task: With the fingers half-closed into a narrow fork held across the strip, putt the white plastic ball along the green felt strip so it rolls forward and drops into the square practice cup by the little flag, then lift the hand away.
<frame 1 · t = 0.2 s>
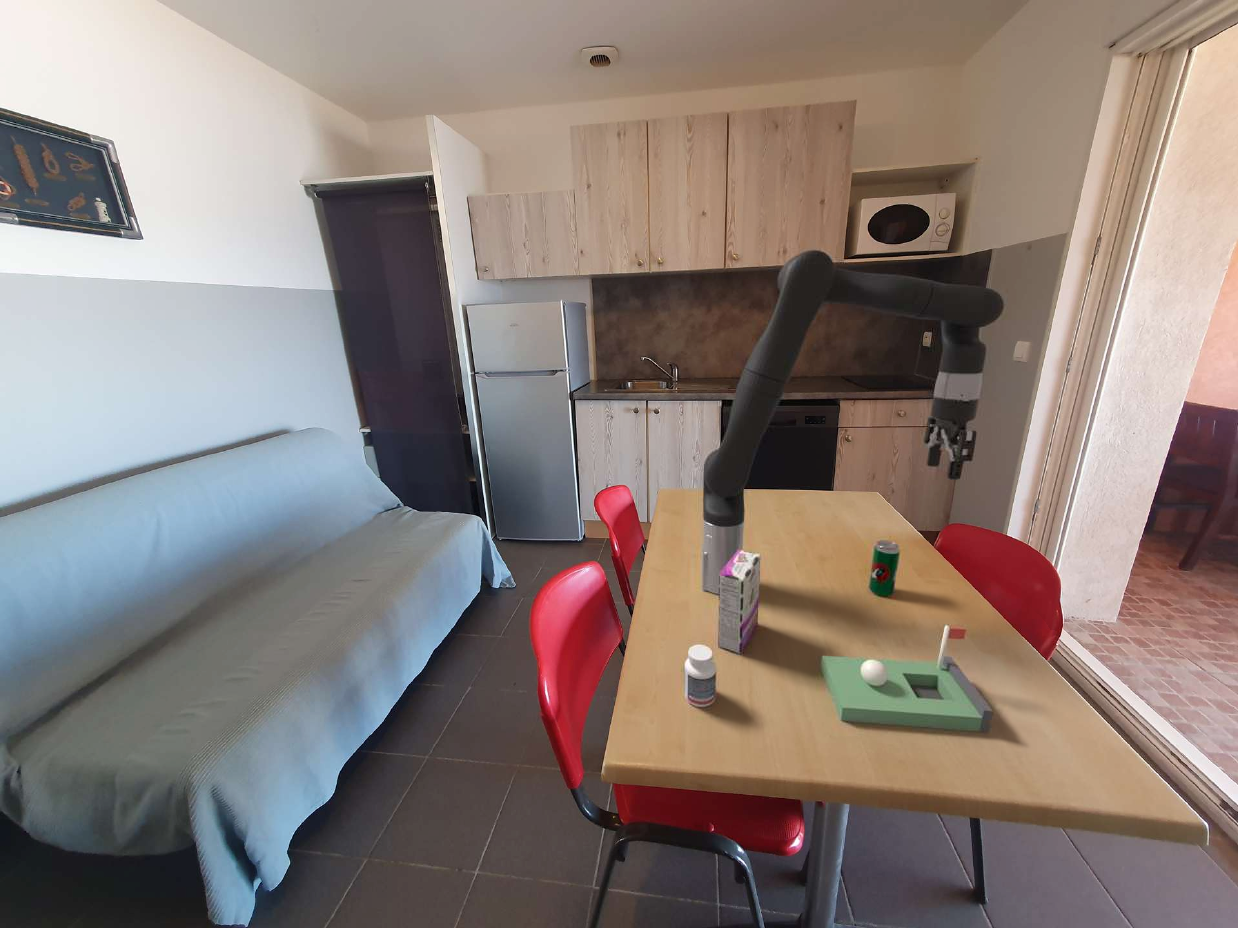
hand: (942, 472, 100), 29 cm above the table, fingers open, 8 cm apart
green: (892, 696, 80), on the table
candy bar box: (737, 636, 96), on the table
pill bottle: (699, 696, 81), on the table
ball: (874, 672, 79), point 5 cm above the table, touching green
soda can: (880, 592, 110), on the table
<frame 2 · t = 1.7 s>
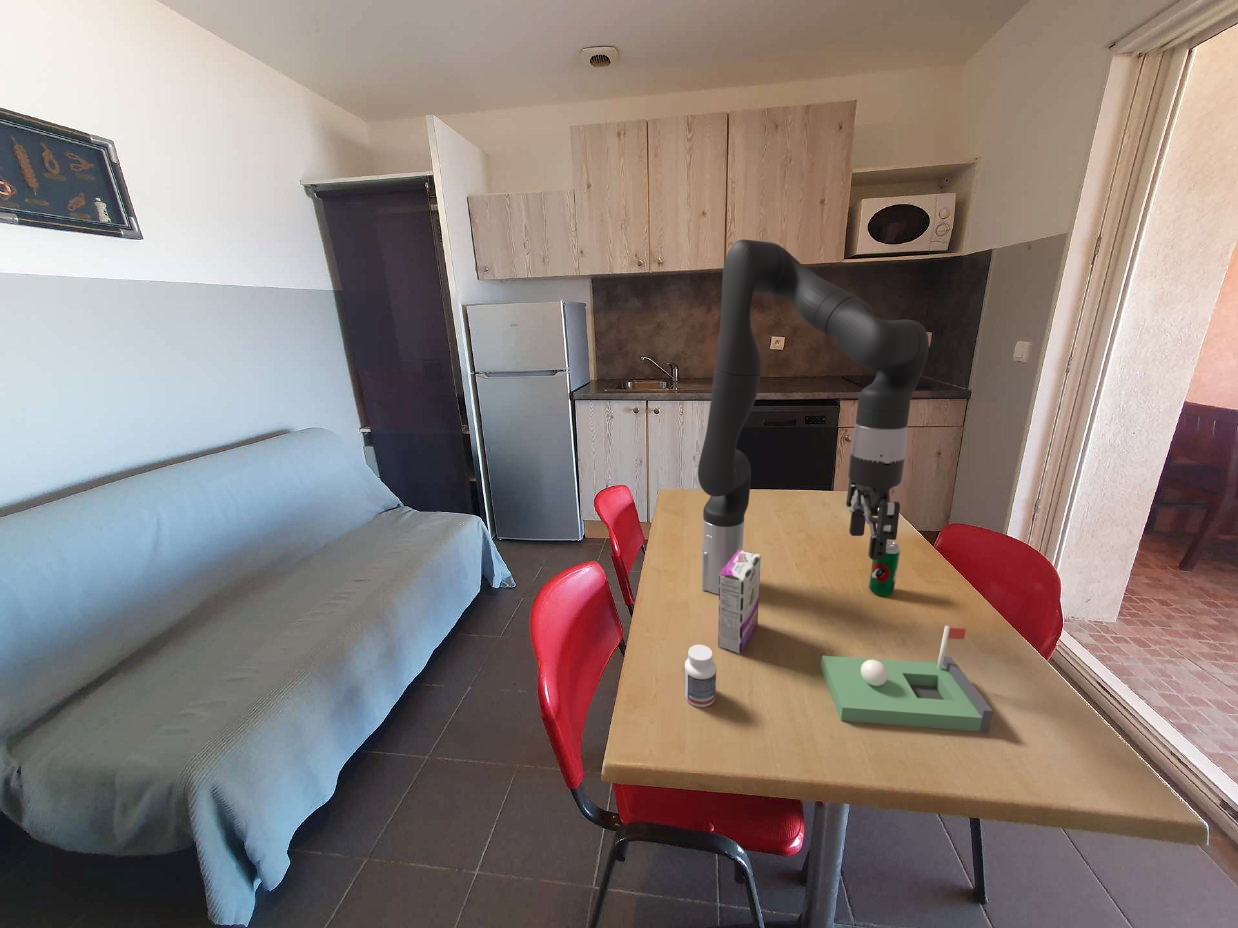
hand: (865, 546, 79), 24 cm above the table, fingers open, 8 cm apart
nothing on the table moved.
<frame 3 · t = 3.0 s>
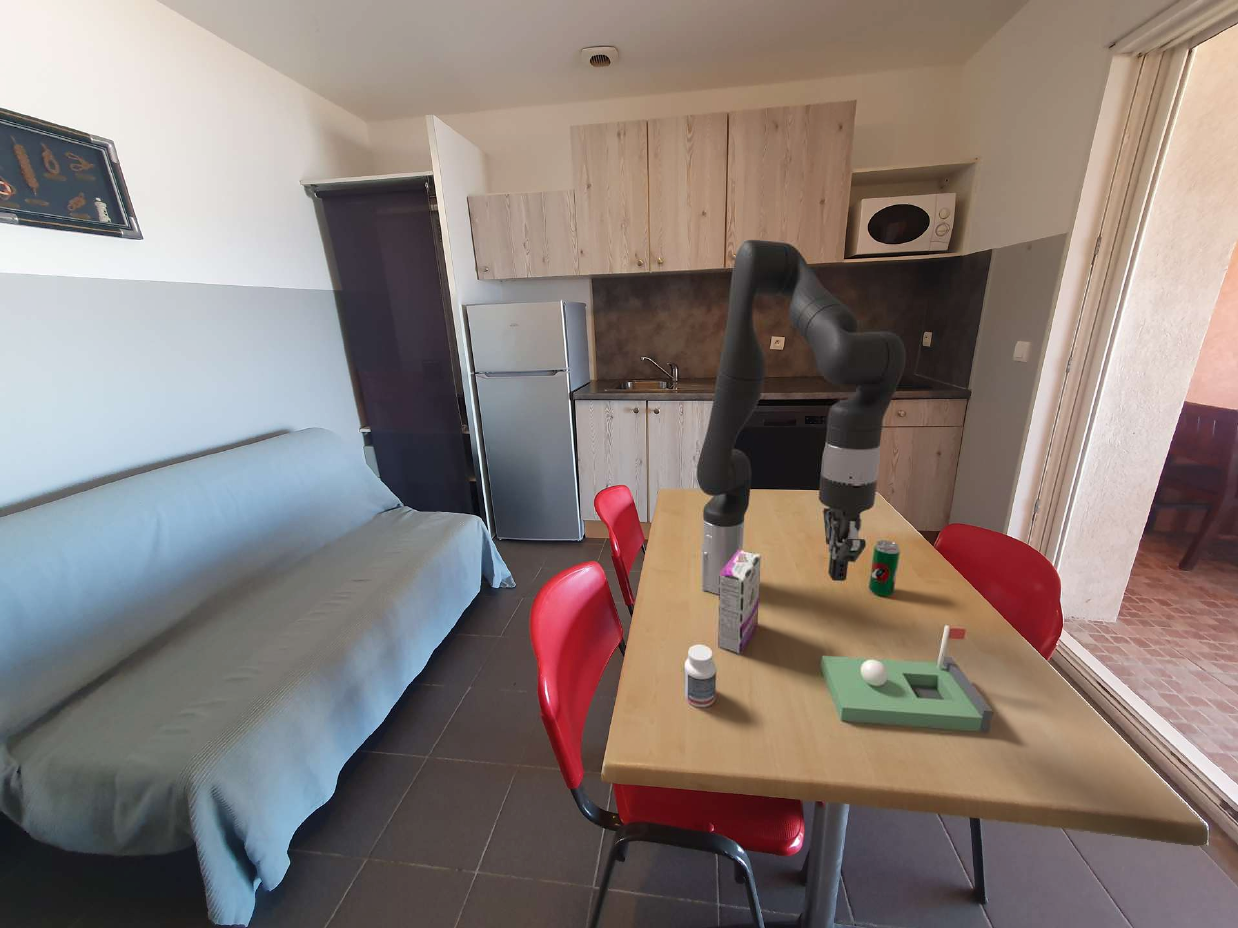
hand: (836, 577, 75), 22 cm above the table, fingers closed
nothing on the table moved.
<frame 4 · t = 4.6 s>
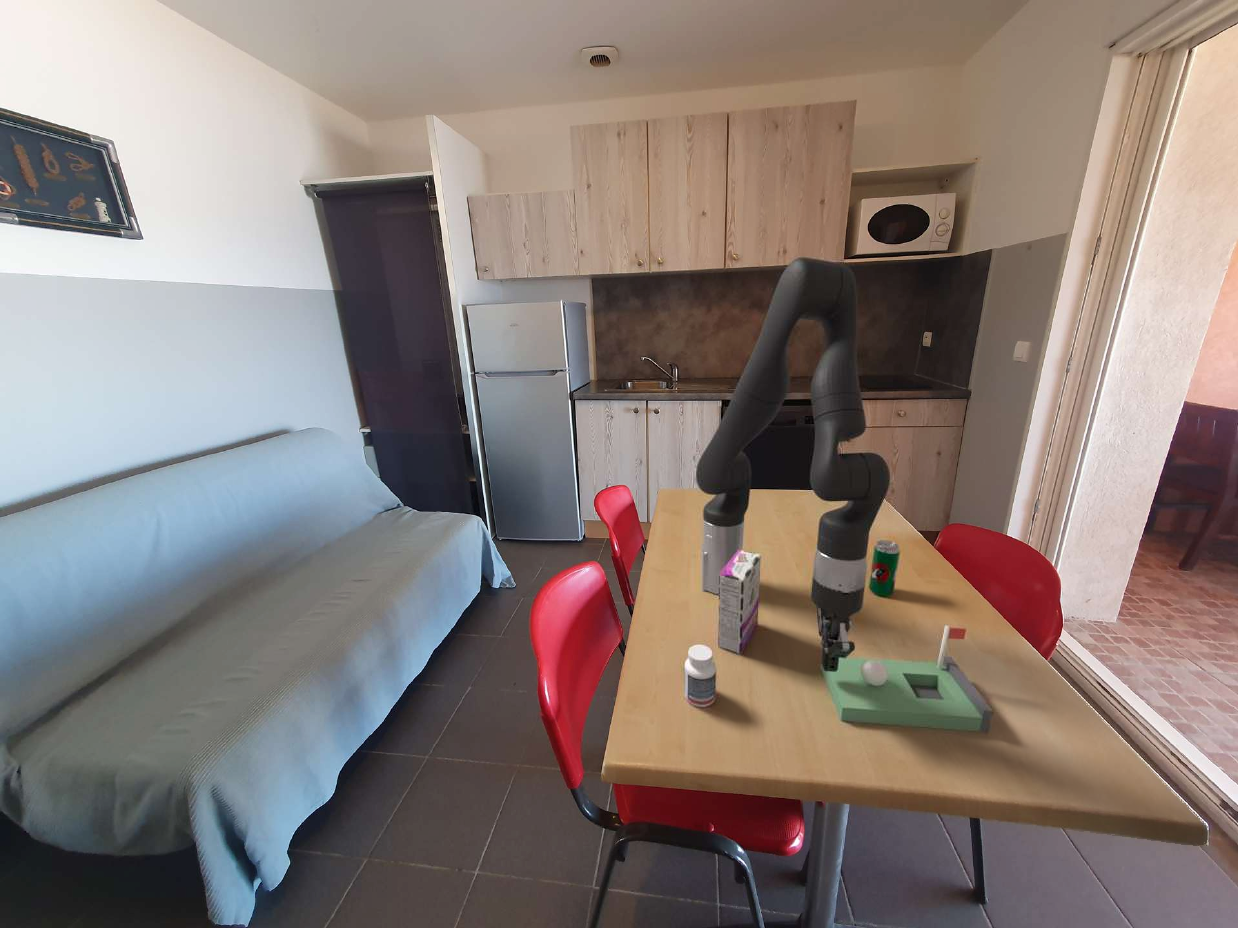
hand: (829, 668, 80), 5 cm above the table, fingers closed
nothing on the table moved.
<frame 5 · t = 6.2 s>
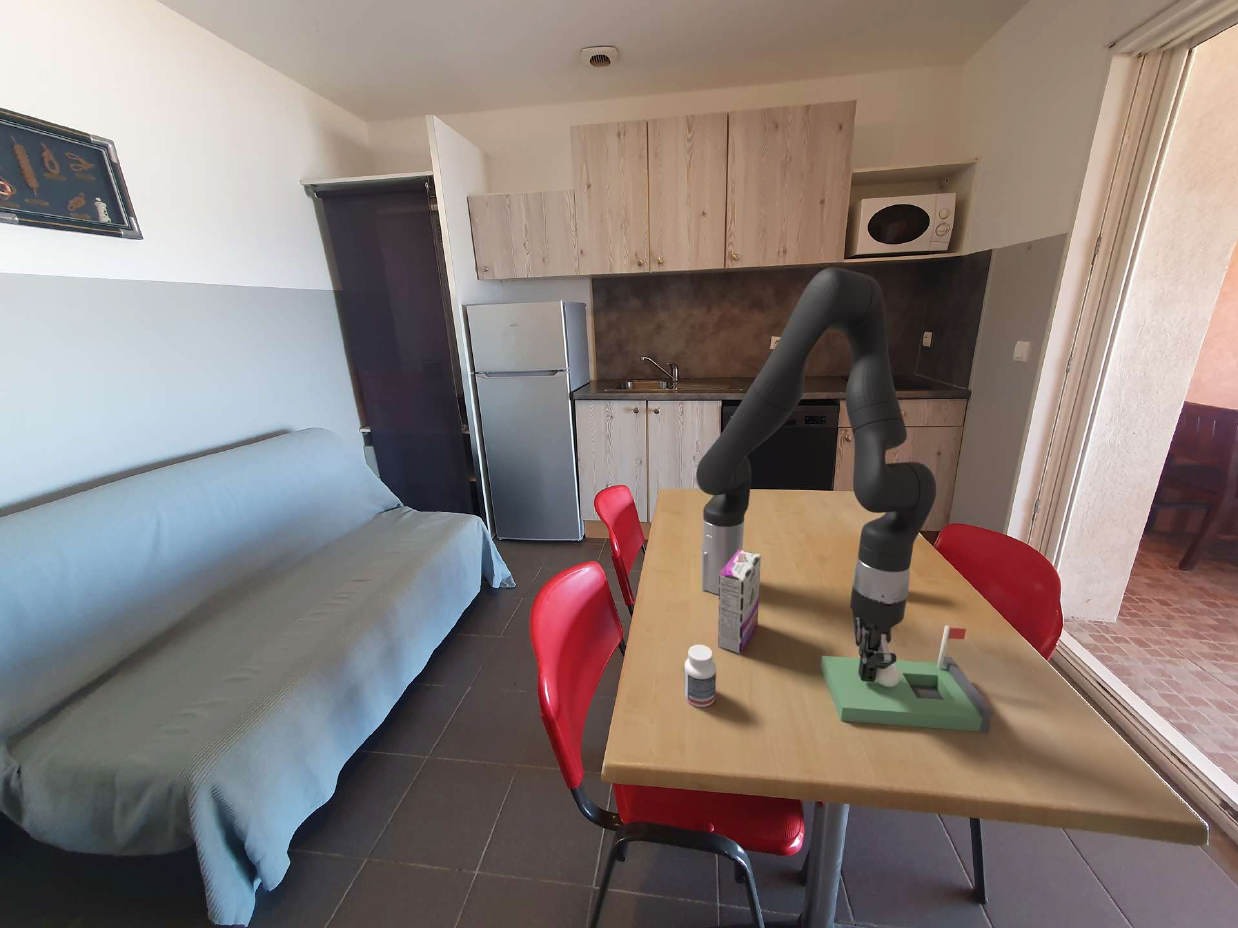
hand: (866, 678, 79), 4 cm above the table, fingers closed
ball: (886, 673, 79), point 5 cm above the table, tilted 44°, touching green, gripper
everything else where it was.
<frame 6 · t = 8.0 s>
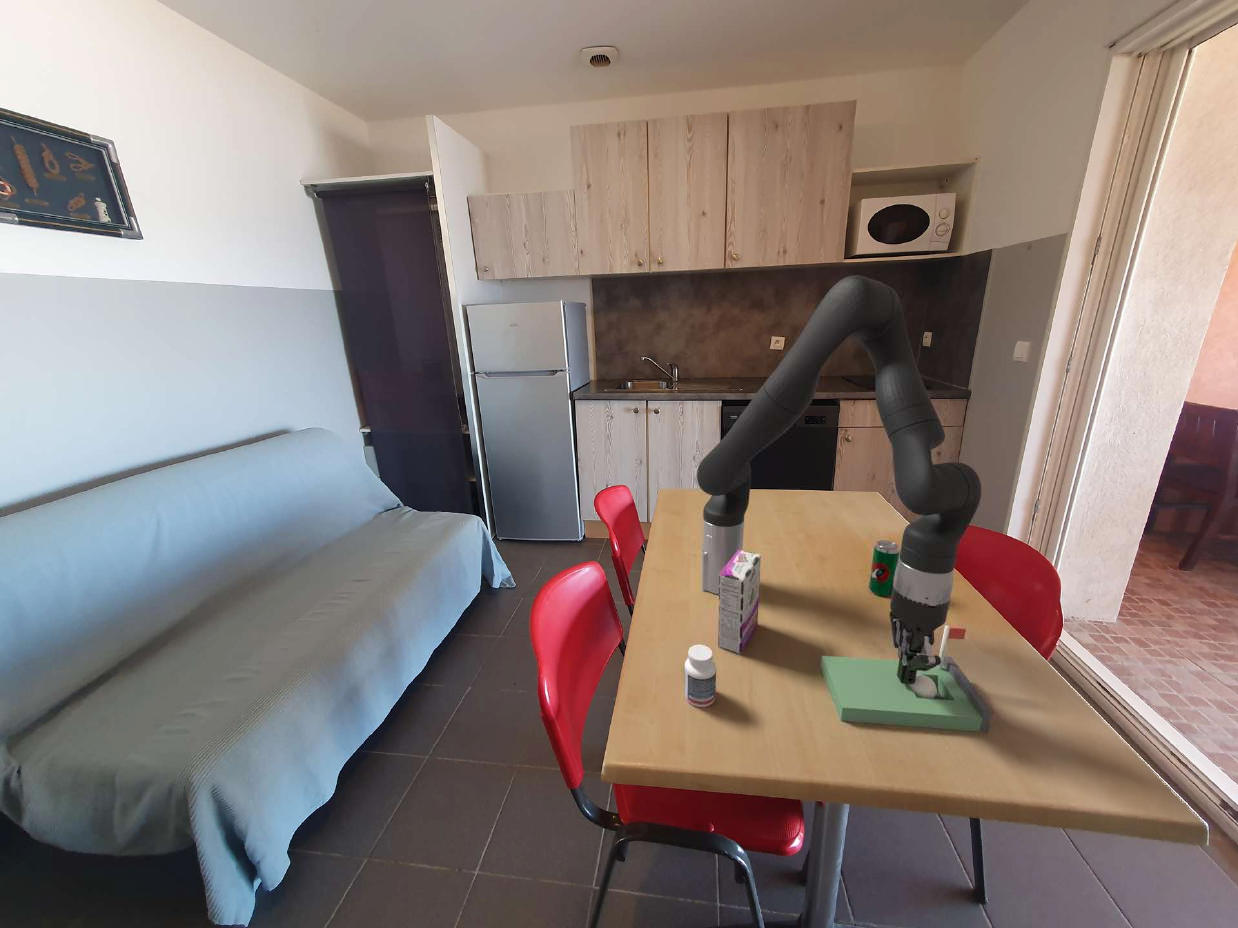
hand: (905, 680, 79), 3 cm above the table, fingers closed
ball: (922, 687, 78), point 2 cm above the table, tilted 143°, touching green
everything else where it was.
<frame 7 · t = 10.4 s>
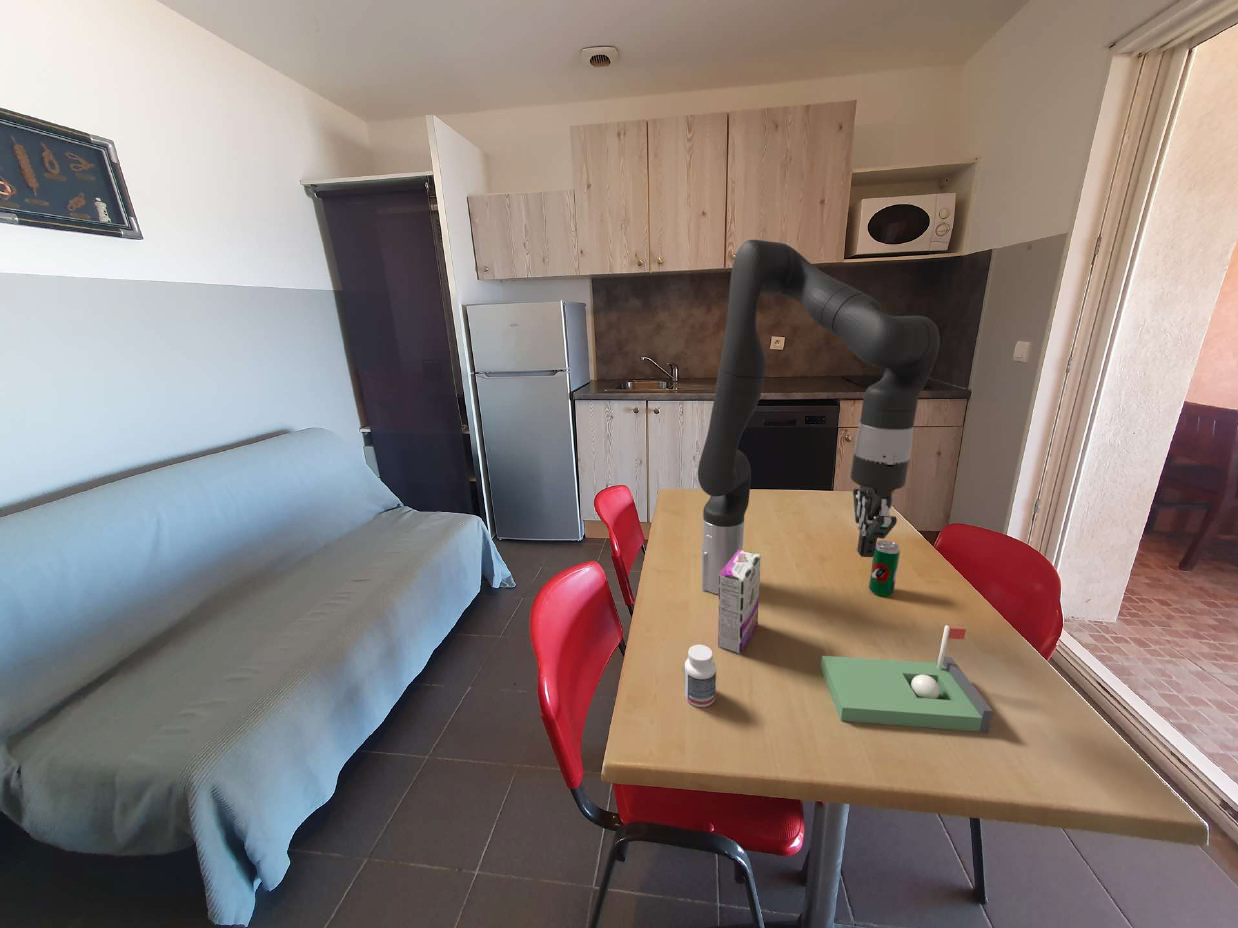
hand: (865, 554, 78), 24 cm above the table, fingers closed
ball: (925, 687, 78), point 2 cm above the table, tilted 130°, touching green
everything else where it was.
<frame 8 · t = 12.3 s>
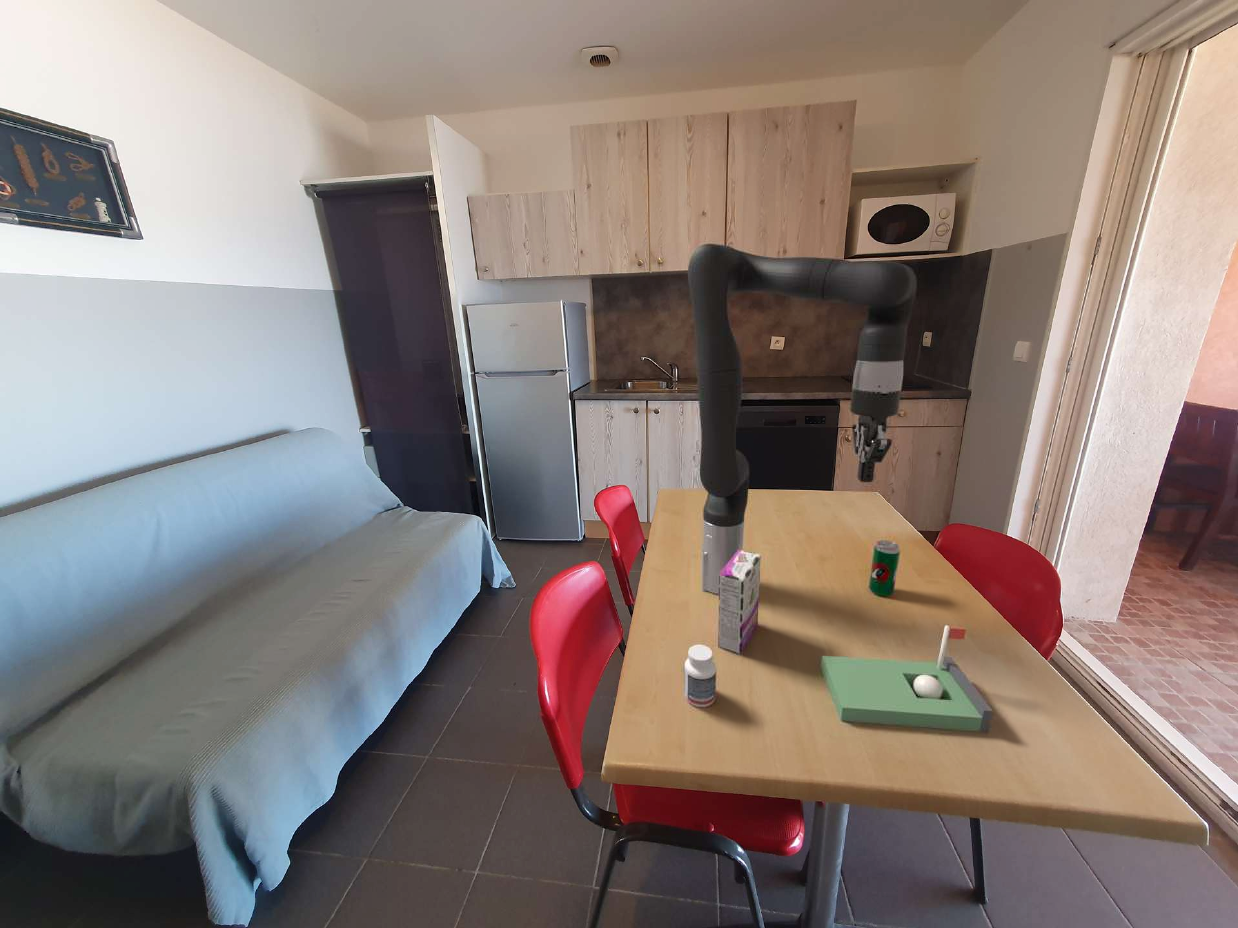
hand: (864, 480, 88), 32 cm above the table, fingers closed
ball: (927, 687, 78), point 2 cm above the table, tilted 120°, touching green
everything else where it was.
at the end: ball 0.1 cm from the target spot on the green, point 2.3 cm above the green's base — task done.
